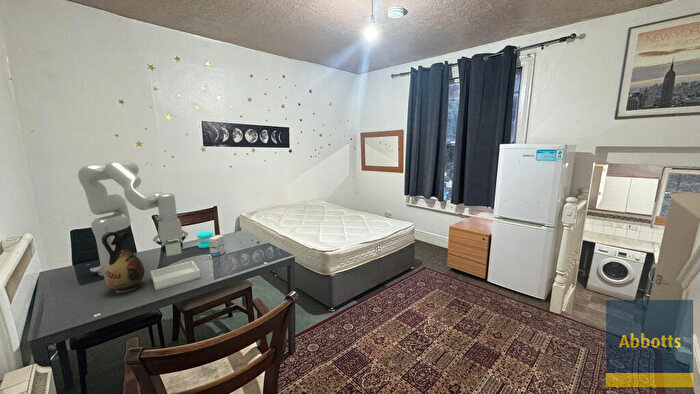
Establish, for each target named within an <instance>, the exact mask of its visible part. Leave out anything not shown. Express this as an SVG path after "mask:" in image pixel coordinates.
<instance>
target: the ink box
mask: <svg viewBox="0 0 700 394" xmlns="http://www.w3.org/2000/svg"><path fill="white" fill-rule="evenodd" d="M208 240H209V253H210V254H209V255H210V257H216V258H217V257H219V256H220V255H222V254H224V253H225V252H226V251H225V250H226V249H225V240H224V235H223V234H217V235H214V236H213V235H212V237H210V238H208Z"/></svg>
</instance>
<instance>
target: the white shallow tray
mask: <svg viewBox="0 0 700 394" xmlns="http://www.w3.org/2000/svg"><path fill="white" fill-rule="evenodd" d="M149 273H150V279H151V281H152V282H151V283H152V285H153V287H154V291H159V290H163V289H166V288H169V287H173V286H177V285H182V284H185V283H188V282H192V281H195V280H199V279H201V270H200V269H199V267H198V266H197V265H196V263H195V262H194V261H193V260H190V261H185V262H182V263H178V264H174V265H170V266H165V267H162V268H158V269H154V270H153V269H152V270H150V272H149Z"/></svg>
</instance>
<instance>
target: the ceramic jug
mask: <svg viewBox="0 0 700 394" xmlns="http://www.w3.org/2000/svg"><path fill="white" fill-rule="evenodd" d="M110 236H115V238H114V239H113V241H112V243H111V245H115V250H114V251H113V250H112V249H111V247H110V246H109V244H108V242H107V238H108V237H110ZM132 237H133V234H132V233H129V232H126V231H124V232H123V231H121V232H120V233H118V232H117V231H116V232H107V233H105V234H104V235H103V236H102V244H103V245H104V246H105V248H106V250H107V252H109V254H110V259H109V260H108V262H107V264H106V267H105V271H104V276H103V278H104V282H105V284H106V286H108V287H109V288H111V289H112V290H114V291H115V293H117V294H119V293H127V292H132V291H134V290H136V289H138V288H139V287H140V284H141V281H142V280H143V278H144V276H145V266H144V265H143V263H142V261H141V259H140V258H139V257H138V256H137V255H136V254H135V253H133V252H132V251H131V250H129V249H128V248H127V247H126V246H125V244H124V243H125V242H126V241H128V240H129V239H131V238H132Z"/></svg>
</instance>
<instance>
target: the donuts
mask: <svg viewBox="0 0 700 394" xmlns="http://www.w3.org/2000/svg"><path fill="white" fill-rule="evenodd" d="M213 235H214V232H212V231H211V230H206V231H205V230H204V231H200V232H198V233H196V238H197V239H200V240H202V241H199V242H198V243H197V247H198V248H199V249H208V248H209V249H210V247H209V238H211V237H213Z"/></svg>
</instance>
